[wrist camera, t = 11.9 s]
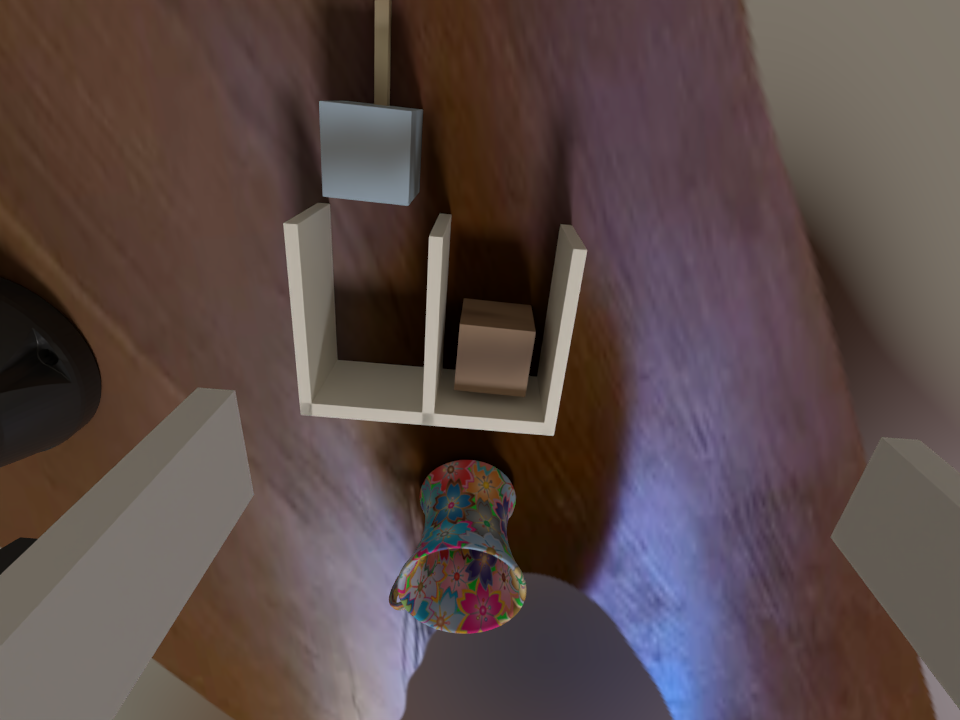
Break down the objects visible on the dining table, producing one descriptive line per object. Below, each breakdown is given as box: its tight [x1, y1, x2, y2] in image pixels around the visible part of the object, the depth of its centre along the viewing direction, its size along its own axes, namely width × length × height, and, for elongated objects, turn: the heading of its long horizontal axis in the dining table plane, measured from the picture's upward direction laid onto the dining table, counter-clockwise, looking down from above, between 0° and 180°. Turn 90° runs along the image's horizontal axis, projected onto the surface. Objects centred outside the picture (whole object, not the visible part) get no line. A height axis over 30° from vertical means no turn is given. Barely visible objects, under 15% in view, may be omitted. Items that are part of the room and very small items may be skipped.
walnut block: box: [454, 298, 536, 397], centre depth 37 cm, size 5×5×5 cm
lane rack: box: [283, 203, 587, 436], centre depth 35 cm, size 13×17×6 cm
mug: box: [389, 460, 526, 633], centre depth 42 cm, size 12×9×11 cm
